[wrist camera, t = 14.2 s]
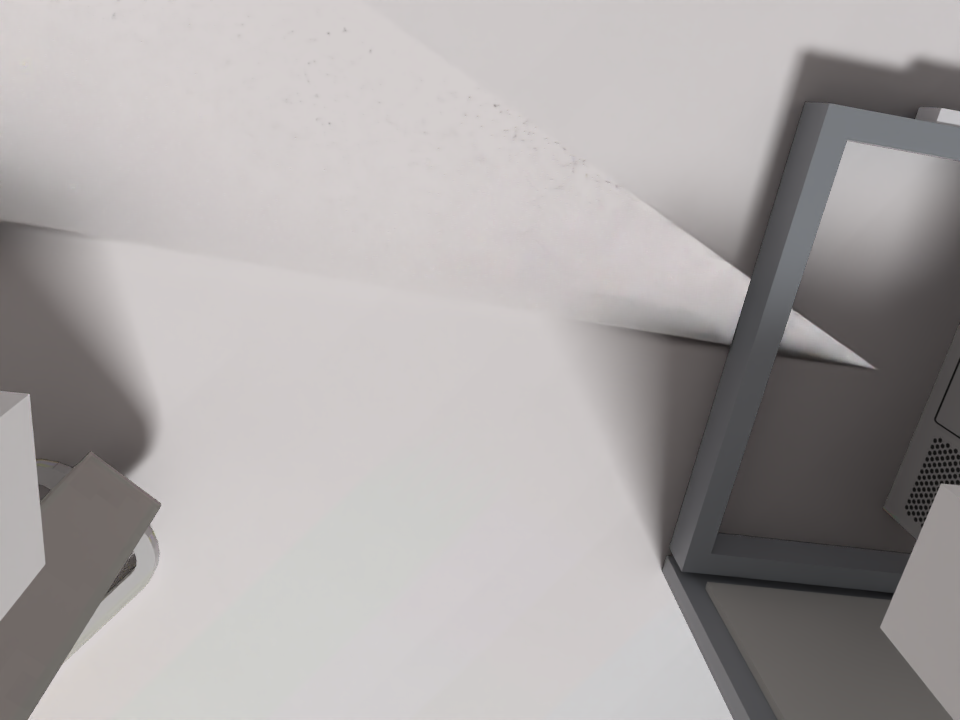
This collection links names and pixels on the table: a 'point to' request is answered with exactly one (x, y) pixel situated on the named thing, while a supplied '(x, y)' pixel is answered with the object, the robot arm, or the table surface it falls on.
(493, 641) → the table surface
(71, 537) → the network device
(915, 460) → the cassette player
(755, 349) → the equipment case
